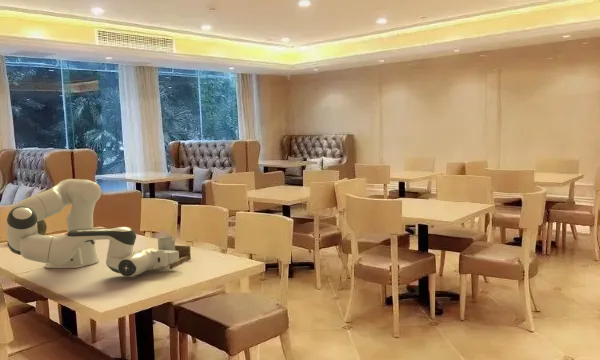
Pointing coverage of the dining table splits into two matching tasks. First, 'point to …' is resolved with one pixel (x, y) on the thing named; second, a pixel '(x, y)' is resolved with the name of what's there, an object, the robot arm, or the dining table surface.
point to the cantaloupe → (41, 227)
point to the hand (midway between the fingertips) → (165, 251)
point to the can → (166, 243)
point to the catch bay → (181, 255)
